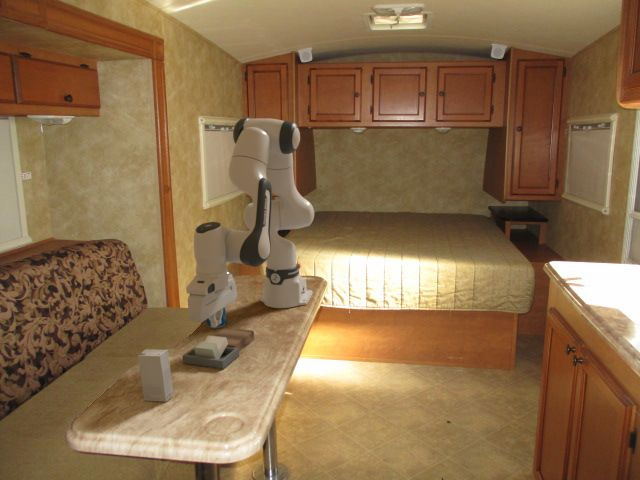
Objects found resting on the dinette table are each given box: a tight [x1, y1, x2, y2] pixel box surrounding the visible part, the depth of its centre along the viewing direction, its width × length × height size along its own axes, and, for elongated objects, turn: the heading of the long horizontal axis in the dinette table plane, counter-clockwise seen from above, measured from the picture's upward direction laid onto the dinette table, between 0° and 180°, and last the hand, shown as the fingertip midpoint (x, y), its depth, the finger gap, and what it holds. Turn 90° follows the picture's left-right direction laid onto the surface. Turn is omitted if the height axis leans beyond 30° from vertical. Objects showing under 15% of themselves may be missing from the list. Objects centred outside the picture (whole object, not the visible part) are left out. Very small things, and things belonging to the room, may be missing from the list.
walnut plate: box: [213, 327, 255, 353], centre depth 158 cm, size 12×10×3 cm
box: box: [181, 347, 240, 371], centre depth 148 cm, size 9×13×2 cm
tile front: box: [192, 340, 221, 359], centre depth 147 cm, size 5×6×2 cm
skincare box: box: [137, 348, 174, 403], centre depth 127 cm, size 6×4×12 cm
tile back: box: [203, 335, 228, 356], centre depth 150 cm, size 5×6×2 cm
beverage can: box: [205, 307, 227, 329], centre depth 174 cm, size 6×6×12 cm
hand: (216, 325), depth 151 cm, fingers closed
